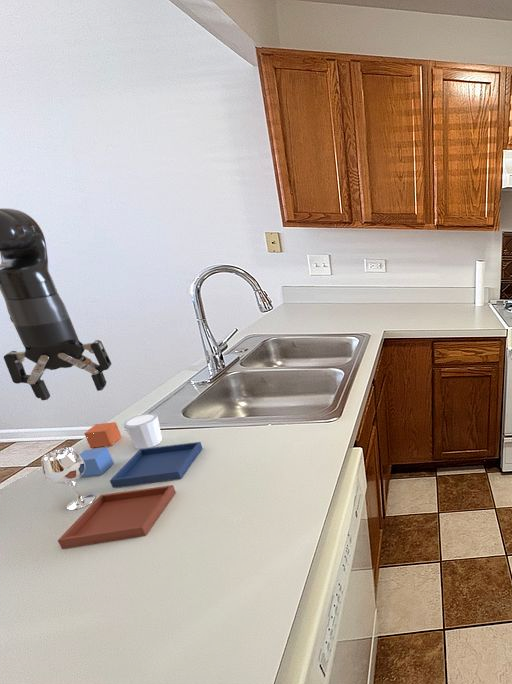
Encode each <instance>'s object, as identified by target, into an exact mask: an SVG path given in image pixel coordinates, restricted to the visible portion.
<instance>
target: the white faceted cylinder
mask: <svg viewBox="0 0 512 684" xmlns="http://www.w3.org/2000/svg"><path fill="white" fill-rule="evenodd" d="M122 426H123V428H124V430H125V431H126V434H127V435H128V437H129V439H130V441H131V442H132V445H133V446H134V448H135V449H136V450H140V449H144V448H152V447H157V446H158V445H159V444H160V443H162V442H163V440H162V439H163V436H162V431H161V426H160V421H159V417H158V415H157V414H156V413H153V412H152V413H151V412H150V413H142V414H139V415H136V416H133V417H130V418H128V419H127V420H125V421H124V422H123V423H122ZM161 441H162V442H161Z"/></svg>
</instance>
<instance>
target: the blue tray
mask: <svg viewBox="0 0 512 684" xmlns="http://www.w3.org/2000/svg"><path fill="white" fill-rule="evenodd" d="M202 450H203V445H202V442H201V441H195V442H186V443H178V444H170V445H161V446H154V447H151V448H144V449H138V450H137V452H136V453H135V454H133V456H132V457H131V458H130V459H128V461H127V462H126V463H125V464H124V465H123V466H122V467H121V468H120V469H119V471H118V472H116V473H115V474H114V475H113V476H112V477H111V478H110V480H109V482H110V485H111V487H112V488H113V489H116V488H122V487H129V486H138V485H145V484H151V483H152V484H153V483H160V482H167V481H174V480H181V479H182V478H183V476H184V475H185V474H186V472H187V471H188V470H189V468H190V467H191V466H192V464H193V463H194V461H195V460H196V458H197V457H198V456H199V454H200V453H201V451H202Z"/></svg>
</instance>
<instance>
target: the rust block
mask: <svg viewBox="0 0 512 684" xmlns="http://www.w3.org/2000/svg"><path fill="white" fill-rule="evenodd" d="M93 433H94V434H93ZM84 436H85V438H87V437H88V438H87V439H86V441H87V443H88V445H89V447H90V449H95V448H94V447H98V448H102V447H101V446H107V447H112V446H113V445H114V444H116V442H118V441H119V440H120V439H121V438H122V434H121V432H120V429H119V427H118V424H117V422H116V421H113V422H104V423H103V422H102V423H95V424H94V425H93V426H92V427H90V428H89V429H88V430H86V431H85V432H84ZM113 443H114V444H113ZM112 444H113V445H112ZM111 445H112V446H111Z"/></svg>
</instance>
